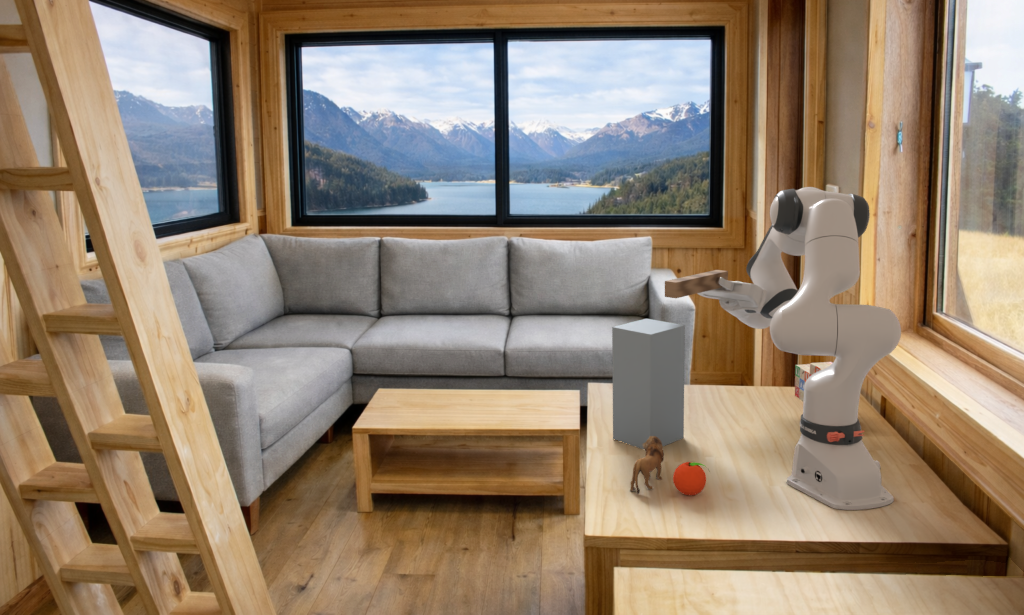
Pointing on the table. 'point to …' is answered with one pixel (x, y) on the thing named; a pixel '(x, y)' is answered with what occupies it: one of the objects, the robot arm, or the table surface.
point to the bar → (694, 284)
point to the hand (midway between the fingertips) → (710, 278)
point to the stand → (648, 381)
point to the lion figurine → (648, 462)
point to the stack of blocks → (806, 375)
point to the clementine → (689, 478)
